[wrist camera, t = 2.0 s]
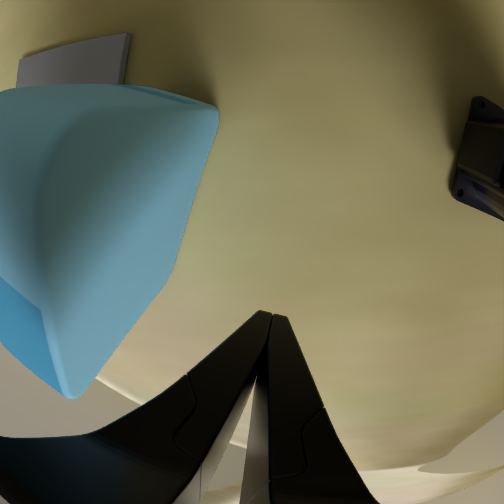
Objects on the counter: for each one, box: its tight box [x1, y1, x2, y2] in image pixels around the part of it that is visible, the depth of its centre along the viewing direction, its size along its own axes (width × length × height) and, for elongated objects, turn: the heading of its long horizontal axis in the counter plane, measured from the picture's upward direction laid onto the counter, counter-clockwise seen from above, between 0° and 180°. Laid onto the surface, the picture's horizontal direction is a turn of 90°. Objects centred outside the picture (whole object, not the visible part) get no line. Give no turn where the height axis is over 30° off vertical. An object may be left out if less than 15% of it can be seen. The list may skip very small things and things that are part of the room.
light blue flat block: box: [0, 84, 219, 399], centre depth 12 cm, size 12×4×12 cm, turn 158°
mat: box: [16, 33, 131, 88], centre depth 18 cm, size 12×20×1 cm, turn 171°
